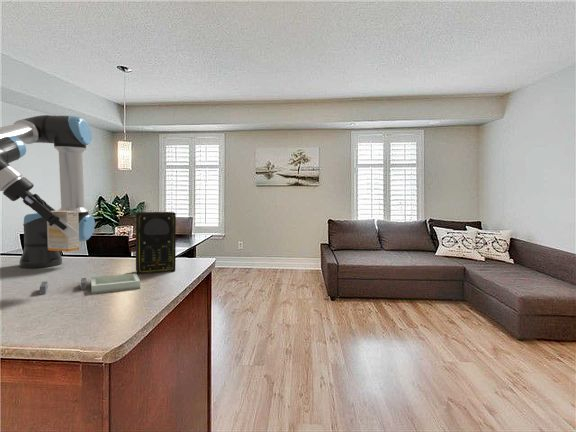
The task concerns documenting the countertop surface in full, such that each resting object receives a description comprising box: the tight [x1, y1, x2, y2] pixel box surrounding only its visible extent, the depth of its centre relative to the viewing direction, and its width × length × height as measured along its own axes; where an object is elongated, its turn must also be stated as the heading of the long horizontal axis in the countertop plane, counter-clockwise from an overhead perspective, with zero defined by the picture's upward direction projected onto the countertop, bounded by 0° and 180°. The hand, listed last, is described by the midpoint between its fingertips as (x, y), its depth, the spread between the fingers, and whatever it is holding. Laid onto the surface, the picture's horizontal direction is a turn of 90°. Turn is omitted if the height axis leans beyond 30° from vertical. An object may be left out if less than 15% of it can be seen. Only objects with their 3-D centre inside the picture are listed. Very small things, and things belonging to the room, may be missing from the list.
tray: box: [90, 273, 141, 295], centre depth 116 cm, size 12×14×2 cm
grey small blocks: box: [39, 277, 87, 295], centre depth 111 cm, size 7×12×2 cm, turn 121°
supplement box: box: [47, 210, 80, 253], centre depth 110 cm, size 8×5×13 cm, turn 77°
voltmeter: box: [134, 211, 177, 275], centre depth 139 cm, size 16×9×25 cm, turn 120°
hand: (75, 233), depth 112 cm, fingers closed on supplement box, 9 cm apart
